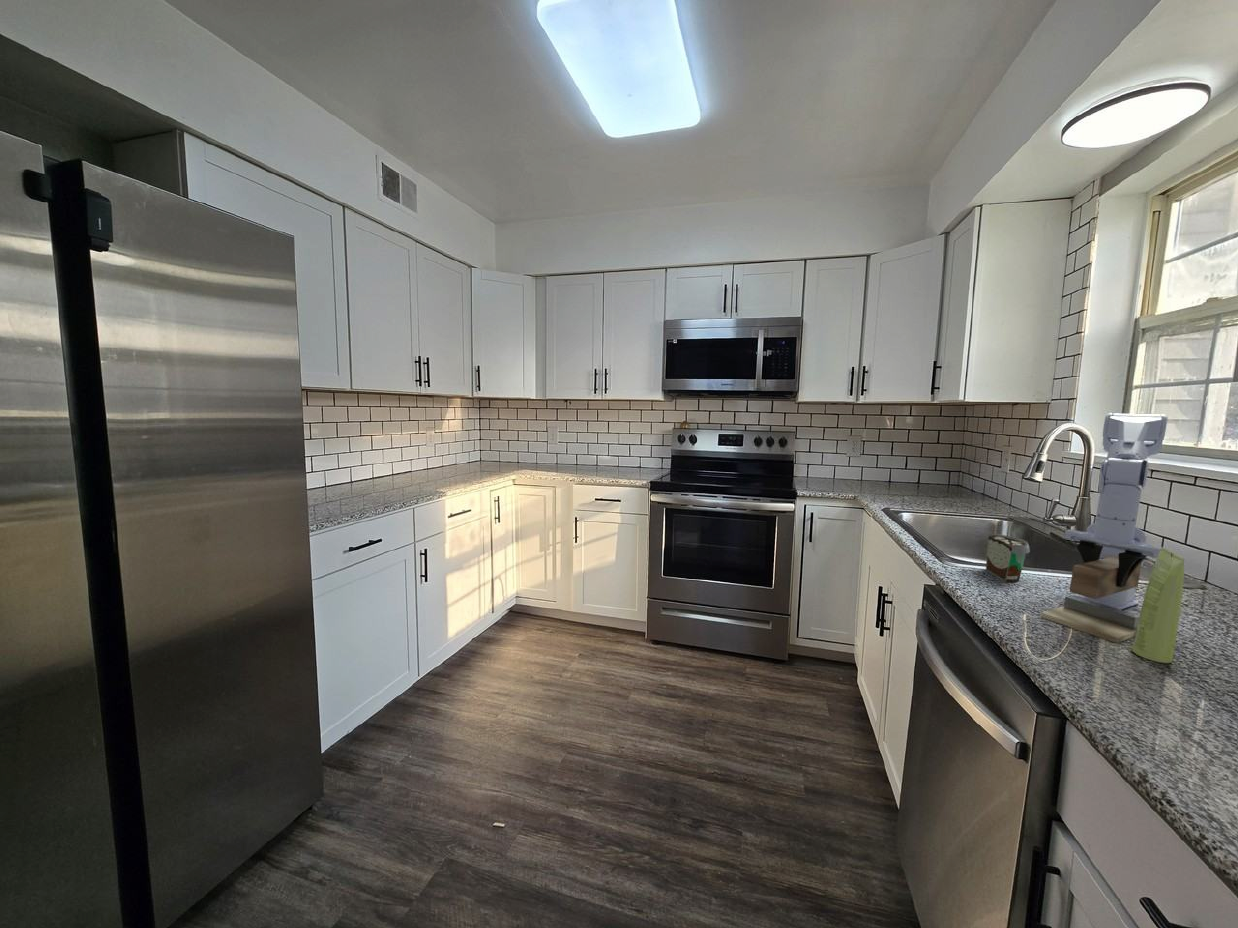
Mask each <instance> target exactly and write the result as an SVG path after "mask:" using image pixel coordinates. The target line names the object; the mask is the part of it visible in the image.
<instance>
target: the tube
mask: <svg viewBox="0 0 1238 928" xmlns="http://www.w3.org/2000/svg"><path fill="white" fill-rule="evenodd" d="M1160 547H1161V550H1160V552H1159V554H1158V557H1157V559H1156V558H1155V563H1154V565H1153V568H1152V571H1151V574H1150V577H1149V580H1148V584H1147V587H1146V591H1145V595H1144V597H1143V601H1142V604H1141V605H1142V606H1141V609H1140V613H1139V615H1140V616H1139V620H1138V624H1137V629H1136V633H1135V636H1134V637H1133V638H1134V639H1133V642H1132V647H1131V651H1132V652H1133V653H1135V654H1136V655H1137V656H1140V658H1143V659H1146V660H1149V661H1152V662H1157V663H1161V664H1162V663H1163V664H1169V663H1172V662H1173V658H1174V654H1175V647H1176V642H1177V641H1176V640H1177V636H1178V629H1179V623H1180V615H1181V609H1182V608H1181V607H1182V606H1181V605H1182V599H1183V590H1184V578H1185V577H1184V575H1185V563H1184V561H1185V558H1184V557H1182V556H1180V555H1179V554H1175V553H1174V552H1172V551H1170V550H1168V549H1167V548H1165V547H1163V546H1160Z"/></svg>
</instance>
